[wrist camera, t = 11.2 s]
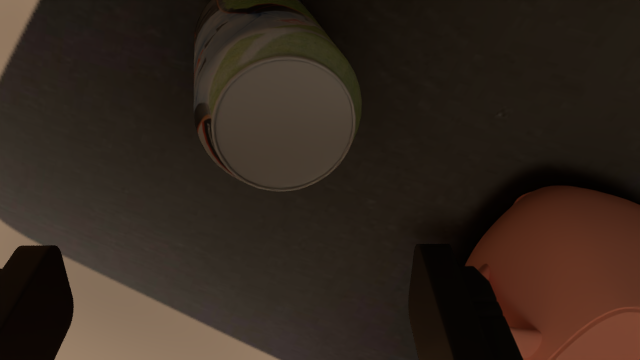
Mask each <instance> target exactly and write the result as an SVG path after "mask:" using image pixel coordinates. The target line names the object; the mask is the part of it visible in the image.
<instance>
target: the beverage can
mask: <svg viewBox="0 0 640 360" xmlns="http://www.w3.org/2000/svg"><path fill="white" fill-rule="evenodd" d="M361 107H362V100H361V93H360V86H359V84H358V81H357V78H356V75H355V72H354V71H353V69H352V67H351V65H350V64H349V62H348V60H347V59H346V58H345V57H344V55H343V54H342V53H341V52H340V50H339V49H338V48H337V46H336V45H335V44H334V43H333V41H332V40H331V39H330V38H329V36H328V35H327V34H326V33H325V31H324V30H323V29H322V27H321V26H320V25H319V24H318V22H317V21H316V20H315V19H314V17H313V16H312V15H311V14H310V12H309V11H308V10H307V8H306V7H305V6H304V5H303V4H302V2H301V1H300V0H211V1H210V2H209V3H208V4H207V6H206V7H205V8H204V10H203V11H202V13H201V16H200V18H199V20H198V23H197V26H196V30H195V40H194V118H195V126H196V129H197V132H198V135H199V139H200V140H201V142H202V144H203V146H204V148H205V150H206V152H207V153H208V154H209V156H210V157H211V158H212V159H213V161H214V162H215V163H216V164H217V165H218V166H220V167H221V168H222V169H223V170H224V171H225V172H227V173H228V174H230V175H232V176H233V177H235V178H237V179H238V180H241V181H243V182H245V183H247V184H249V185H251V186H254V187H256V188H259V189H264V190H268V191H292V190H297V189H301V188H305V187H307V186H310V185H312V184H314V183H316V182H318V181H320V180H321V179H323V178H325V177H326V176H327V175H329V174H330V173H331V172H332V171H333V170H335V168H336V167H337V166H338V165H339V164H340V163H341V162H342V160H343V159H344V157H345V156H346V154H347V152H348V151H349V148H350V146H351V144H352V142H353V140H354V138H355V135H356V133H357V130H358V127H359V123H360V118H361Z"/></svg>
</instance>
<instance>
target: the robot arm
mask: <svg viewBox="0 0 640 360" xmlns="http://www.w3.org/2000/svg"><path fill="white" fill-rule="evenodd" d="M408 307H409V319H410V324H411V329H412V333H413V337H414V341H415V346H416V350H417V354H418V358H419V360H523V357H522V355H521V353H520V351H519V348H518V346H517V344H516V341H515V339H514V337H513V335H512V332H511V330H510V328H509V325H508V323H507V321H506V319H505V316H503V312H502V309H501V307H500V305H499V303H498V302H497V298H496V296H495V293H494V291H493V289H492V287H491V284H490V282H489V281H488V280H487V279H486V278H485V277H484V276H483V275H482V274H481V273H480V272H479V271H478V270H477V269H476V268H475V267H474V266H458V263H457V261H456V258H455V255H454V253H453V250H452V248H451V246H450V245H449V244H417V245H416V247H415V250H414V258H413V266H412V274H411V281H410V289H409V300H408ZM73 308H74V306H73V296H72V292H71V289H70V285H69V281H68V277H67V274H66V270H65V266H64V262H63V258H62V254H61V251H60V249H59V248H58V247H57V246H55V245H51V246H19V247H18V248H17V249H16V250H15V251H14V253H13V254H12V256H11V257H10V259H9V260H8V262H7V263H6V264H5V266H4V267H3V269H0V360H54V359H55V357H56V355H57V352H58V350H59V348H60V346H61V344H62V342H63V340H64V338H65V336H66V333H67V331H68V329H69V327H70V325H71V321H72V317H73Z"/></svg>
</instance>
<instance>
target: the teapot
mask: <svg viewBox="0 0 640 360" xmlns="http://www.w3.org/2000/svg"><path fill="white" fill-rule="evenodd" d="M465 266H474V267H475V268H476V269H477V270H478V271H479V272H480V273H481V274H482V275H483V276H484V277H485V278H486V279H487V280H488V281H489V282H490V284H491V287H492V289H493V291H494V293H495V296H496V298H497V302H498V303H499V305H500V307H501V309H502V312H503V316H505V319H506V321H507V323H508V325H509V328H510V330H511V332H512V335H513V337H514V339H515V341H516V344H517V346H518V348H519V351H520V353H521V355H522V357H523V360H640V205H639V204H636V203H634V202H632V201H629V200H627V199H623V198H620V197H617V196H614V195H610V194H607V193H603V192H599V191H595V190H591V189H585V188H579V187H573V186H547V187H542V188H540V189H537V190H535V191H533V192H529V193H526V194H524V195H522V196H520V197H519V198H518V199H517V200H516V201H515V202H514V204H513V206H511V207H510V208H509V209H508V210H507V211H506V212H505V213H504V214H503V215H502V216H501V217H500V218H499V219H498V220H497V221H496V222H495V223H494V224H493V225H492V226H491V227H490V228H489V230H488V231H487V232H486V233H485V234H484V235H483V237H482V238H481V239H480V241H479V242H478V244H477V245H476V247H475V248H474V250H473V252H472V253H471V255H470V257H469V258H468V260H467V262H466V264H465Z"/></svg>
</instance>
